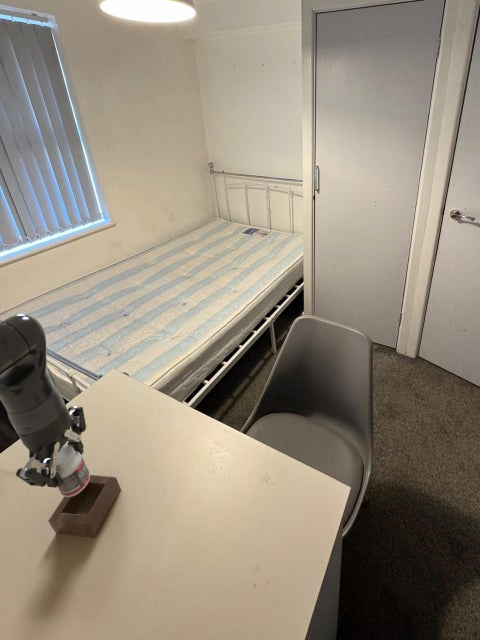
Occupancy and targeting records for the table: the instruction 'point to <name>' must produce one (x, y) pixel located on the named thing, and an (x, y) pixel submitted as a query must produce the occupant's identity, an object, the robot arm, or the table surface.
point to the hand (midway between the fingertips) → (68, 468)
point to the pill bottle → (71, 471)
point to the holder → (91, 523)
